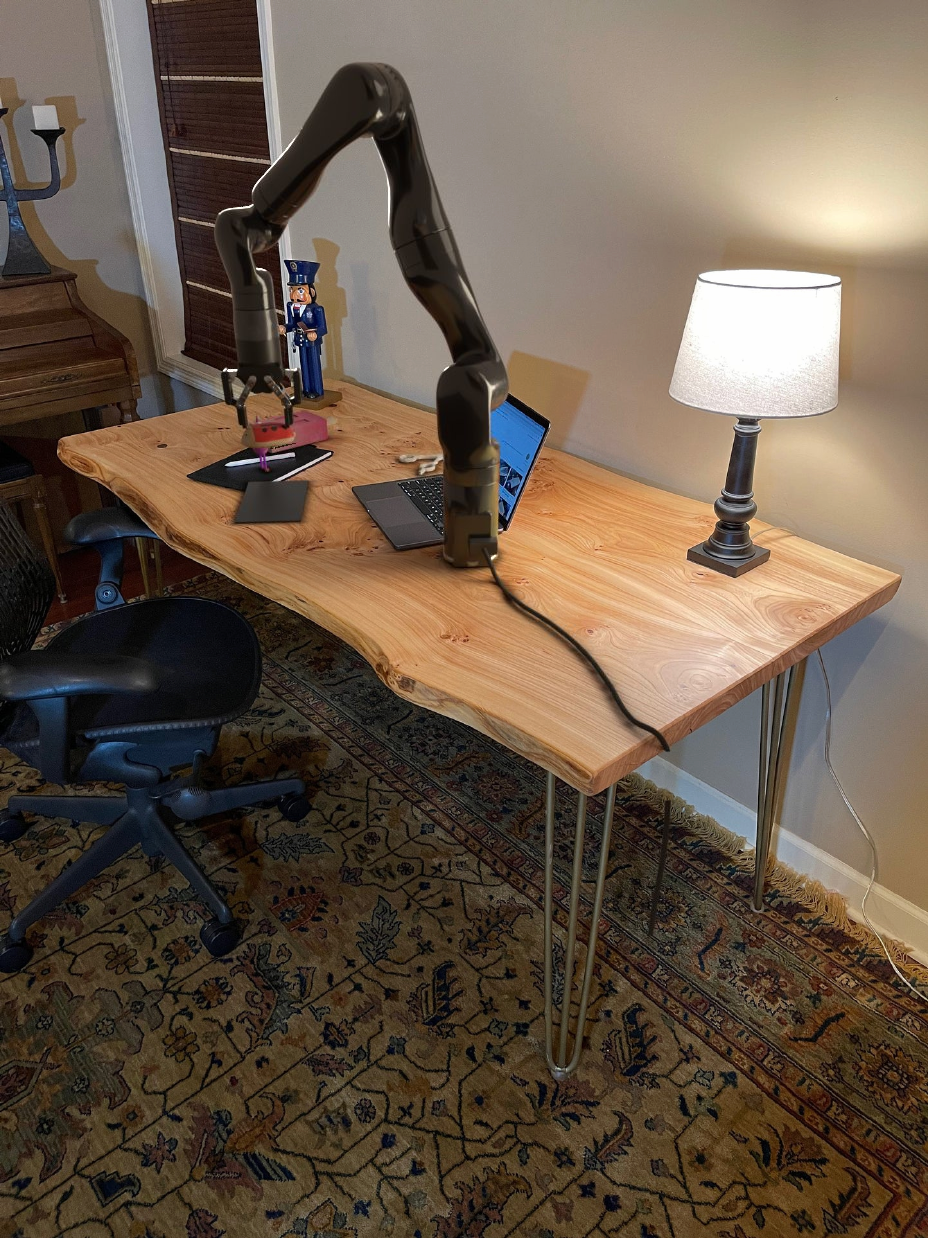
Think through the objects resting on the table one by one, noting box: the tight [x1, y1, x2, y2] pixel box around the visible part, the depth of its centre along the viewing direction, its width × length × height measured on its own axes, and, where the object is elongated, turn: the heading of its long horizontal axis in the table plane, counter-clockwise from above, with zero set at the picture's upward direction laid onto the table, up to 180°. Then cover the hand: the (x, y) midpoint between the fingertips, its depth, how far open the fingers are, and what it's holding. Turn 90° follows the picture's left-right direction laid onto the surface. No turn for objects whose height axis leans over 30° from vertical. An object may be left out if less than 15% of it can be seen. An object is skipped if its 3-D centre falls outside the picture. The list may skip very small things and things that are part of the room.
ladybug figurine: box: [240, 422, 296, 449], centre depth 164 cm, size 7×10×4 cm
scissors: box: [398, 452, 443, 476], centre depth 195 cm, size 11×1×20 cm
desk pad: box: [233, 480, 310, 524], centre depth 174 cm, size 20×12×1 cm, turn 4°
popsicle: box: [248, 409, 339, 454], centre depth 205 cm, size 9×5×20 cm
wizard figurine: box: [247, 413, 275, 473], centre depth 185 cm, size 11×3×12 cm, turn 41°
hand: (266, 426), depth 163 cm, fingers closed on ladybug figurine, 7 cm apart
